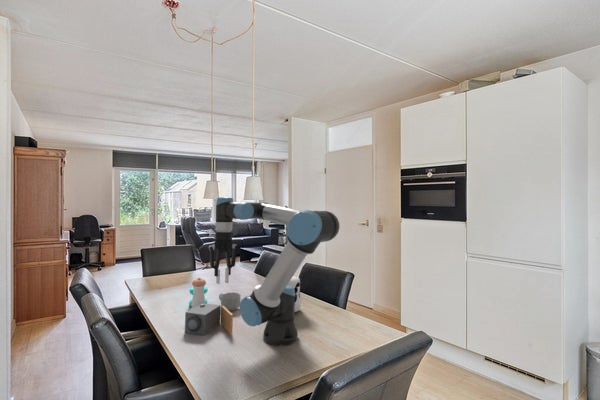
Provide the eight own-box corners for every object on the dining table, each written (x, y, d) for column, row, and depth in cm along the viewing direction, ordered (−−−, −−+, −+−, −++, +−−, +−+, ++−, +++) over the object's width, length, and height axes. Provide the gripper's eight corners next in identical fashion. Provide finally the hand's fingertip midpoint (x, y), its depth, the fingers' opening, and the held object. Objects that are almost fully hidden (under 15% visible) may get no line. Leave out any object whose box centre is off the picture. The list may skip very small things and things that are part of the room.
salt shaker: (193, 311, 168) (194, 276, 169) (207, 312, 168) (208, 276, 168) (188, 316, 161) (189, 279, 161) (202, 317, 161) (203, 279, 161)
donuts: (201, 290, 173) (185, 289, 176) (200, 309, 173) (185, 307, 176) (211, 286, 183) (196, 284, 186) (210, 303, 182) (196, 301, 185)
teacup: (244, 309, 174) (244, 295, 174) (227, 314, 166) (228, 299, 166) (229, 303, 183) (230, 290, 183) (213, 308, 175) (213, 293, 175)
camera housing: (220, 323, 153) (220, 303, 153) (202, 337, 137) (202, 314, 137) (201, 321, 155) (202, 301, 155) (182, 334, 140) (182, 312, 140)
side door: (222, 322, 153) (223, 305, 153) (232, 333, 141) (233, 314, 141) (220, 322, 153) (220, 305, 153) (229, 333, 140) (230, 315, 140)
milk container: (282, 304, 185) (283, 273, 185) (306, 310, 175) (307, 278, 175) (262, 312, 171) (263, 278, 171) (288, 319, 161) (289, 284, 161)
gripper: (238, 230, 150) (236, 279, 150) (203, 230, 142) (201, 282, 142) (243, 231, 144) (242, 282, 144) (207, 232, 135) (206, 286, 135)
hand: (222, 282), depth 143 cm, fingers open, 3 cm apart
